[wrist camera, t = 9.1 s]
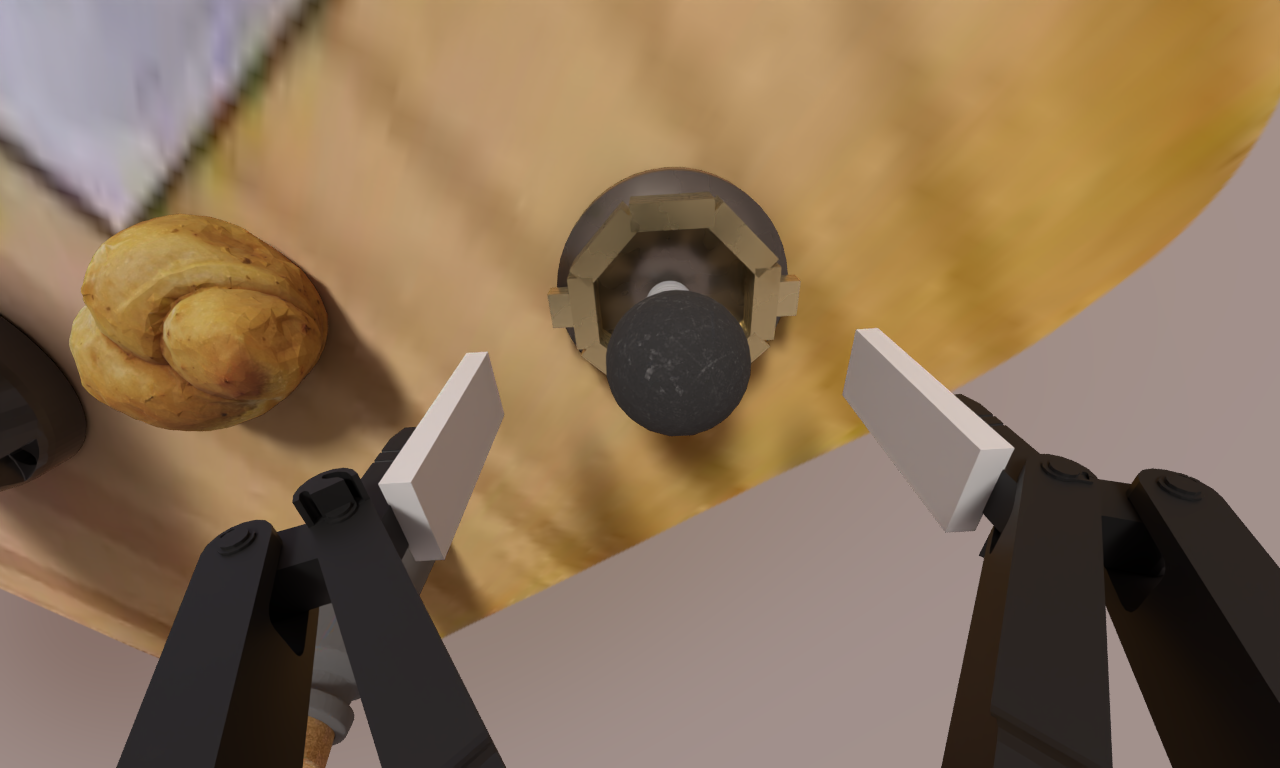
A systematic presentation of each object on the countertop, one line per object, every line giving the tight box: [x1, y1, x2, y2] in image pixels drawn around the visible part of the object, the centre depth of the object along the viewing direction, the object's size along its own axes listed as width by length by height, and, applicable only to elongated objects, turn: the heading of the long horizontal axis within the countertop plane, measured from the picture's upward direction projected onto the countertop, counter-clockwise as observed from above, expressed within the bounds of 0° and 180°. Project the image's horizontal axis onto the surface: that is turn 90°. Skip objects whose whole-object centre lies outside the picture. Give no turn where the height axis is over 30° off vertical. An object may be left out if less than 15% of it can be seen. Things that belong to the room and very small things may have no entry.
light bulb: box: [606, 281, 751, 436], centre depth 19 cm, size 6×6×10 cm
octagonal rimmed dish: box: [548, 167, 801, 375], centre depth 23 cm, size 12×12×4 cm
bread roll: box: [69, 214, 328, 431], centre depth 23 cm, size 13×10×8 cm
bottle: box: [303, 547, 435, 768], centre depth 29 cm, size 6×6×15 cm
